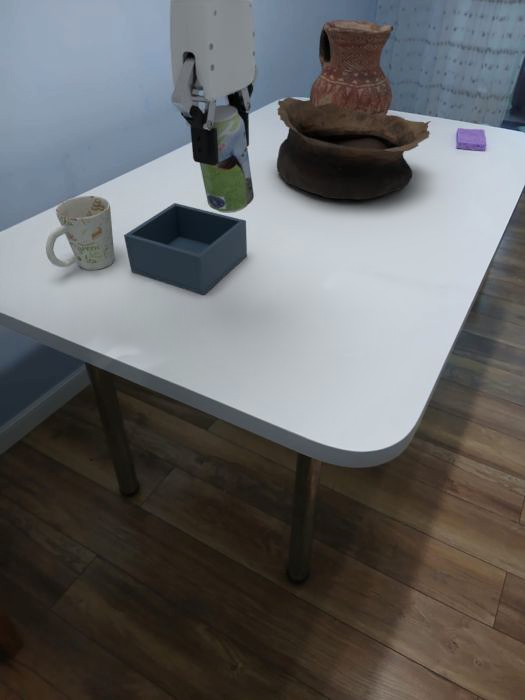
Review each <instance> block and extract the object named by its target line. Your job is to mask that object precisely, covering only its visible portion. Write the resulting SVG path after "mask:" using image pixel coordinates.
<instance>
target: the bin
mask: <svg viewBox="0 0 525 700" xmlns="http://www.w3.org/2000/svg"><path fill="white" fill-rule="evenodd" d="M123 238H124V243H125V247H126V253H127V257H128V262H129V267H130V270H131V273H134V274H137V275H140V276H144V277H146V278H149V279H152V280H155V281H158V282H162V283H164V284H168V285H171V286H174V287H178V288H180V289H184V290H187V291H189V292H193V293H195V294H199V295H203V296H205V295H206V294H208V292H210V291H211V290H212V289H213V287H215V286H216V285H217V284H218V283H219V282H221V280H223V279H224V278H225V277H226V276H228V274H229V273H230V272H231V271H233V269H235V268H236V267H237V266H238V265H239V264H240V263H241V262H243V261H244V260H245V259H246V258H247V256H248V249H247V248H248V242H247V241H248V239H247V238H248V237H247V220H245V219H241V218H237V217H233V216H229V215H225V214H221V213H217V212H213V211H209V210H205V209H201V208H196V207H193V206H189V205H185V204H181V203H177V202H173V203H172V204H170V205H169V206H167V207H165V208H164V209H163V210H161V211H160V212H158V213H157V214H154V215H153V216H152V217H150V218H149V219H147V220H145V221H144V222H143V223H141V224H139V225H138V226H136V227H134V228H133V229H131V230H130V231H128V232H127V233H125V234H123Z"/></svg>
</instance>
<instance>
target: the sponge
mask: <svg viewBox="0 0 525 700" xmlns="http://www.w3.org/2000/svg"><path fill="white" fill-rule="evenodd" d="M455 134H456V148H457V149H461V150H471V151H480V152H481V151H482V152H485V151H486V147H487V145H488V144H487V137H486V131H485V129H481V128H480V129H479V128H478V129H477V128H464V127H463V128H462V127H457V130H456V133H455Z"/></svg>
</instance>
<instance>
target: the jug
mask: <svg viewBox="0 0 525 700" xmlns="http://www.w3.org/2000/svg"><path fill="white" fill-rule="evenodd" d="M393 31H394V26H393V25H391V24H384V25H378V24H376V23H374V22H371V21H364V20H343V19H336V20H331V21H324V24H323V25H322V28H321V31H320V35H319V47H318V59H319V63H320V65H321V66H320V68H321V71H320V73H319V75H318V76H317V78H315V80H314V81H313V83H312V85H311V89H310V93H309V100H310V101H311V102H312V103H313V104H314V105H315V107H317V106H321V105H325V104H328V103H333V104H336V105H338V106H340V107H341V110H344V109H349V108H353V109H354V110H363V111H364V112H365V113H367V114H368V115H369V116H375V115H378V114H381V113H384V114H386V115H388V112H389V110H390V108H391V105H392V102H393V92H392V87H391V85H390V82H389V80H388V77H387V76H386V74H385V72H384V71H383V68H382V67H381V57H382V52H383V49H384V47H385V45H386V44H387V42H388V40H389V38H390V36H391V34H392V32H393Z"/></svg>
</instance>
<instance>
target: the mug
mask: <svg viewBox="0 0 525 700" xmlns="http://www.w3.org/2000/svg"><path fill="white" fill-rule="evenodd" d="M55 214H56V217H57V220H58V222H59V224H60V226H59V227H56V229H54V230H53V231H51V232H50V233H49V235H48V237H47V240H46V244H45V254H46V257H47V260H48V261H49V262H50V264H52V265H53V266H56V267H59V268H68V267H70V266H71V265H73V264H75V263H76V262H77V264H78V265H79V266H80V268H82V269H83V270H88V271H97V270H98V271H99V270H102V269H105V268H107V267H110V266H111V265H112V264H113V263H114V261H115V247H114V236H113V235H114V234H113V225H112V224H113V223H112V212H111V205H110V202H109V200H108V199H106V198H104V197H101V196H98V195H97V196H96V195H82V196H76V197H72V198H68V199H66V200H64V201H62V202H61V203H59V204H58V205H57V206H56V208H55ZM63 235H65V238H66V239H67V242H68V244H69V246H70V249H71V250H72V253H73V255H74V256H73V257H71V258H69V259H68V260H66V261H63V260H61V259H59V258H58V257H57V256H56V254H55V243H56V241H57V239H58V238H60V237H61V236H63Z"/></svg>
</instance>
